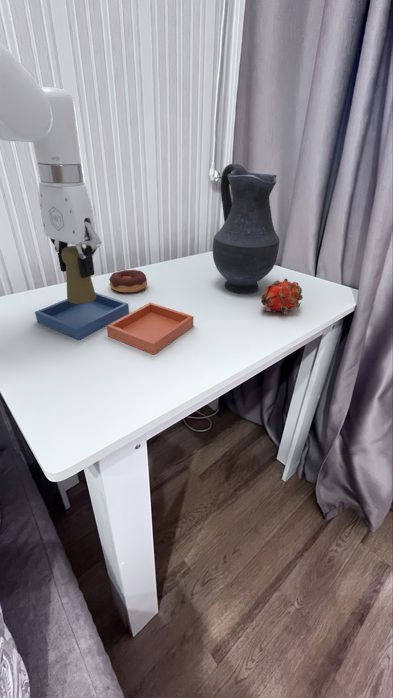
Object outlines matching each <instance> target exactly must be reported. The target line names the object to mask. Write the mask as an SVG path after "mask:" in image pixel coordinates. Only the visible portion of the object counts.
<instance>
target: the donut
mask: <svg viewBox="0 0 393 698" xmlns="http://www.w3.org/2000/svg"><path fill="white" fill-rule="evenodd" d="M147 286H148V279H147V276H146V274H145V273H144V271H141V270H136V269H122V270H121V271H120V270H119V271H116V272H113V273H112V274H111V275H110V276H109V287H110V289H112V290H113V291H115V292H120V293H136V292H140V291H142V290H144V289H145V288H146V287H147Z"/></svg>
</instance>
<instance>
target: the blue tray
mask: <svg viewBox="0 0 393 698" xmlns="http://www.w3.org/2000/svg"><path fill="white" fill-rule="evenodd" d="M95 294H96V299H95V300H94V301H91V302H89V303H84V304H75V303H71V302H69V301H68V300H67V298H66V299H63V300H61V301H58V302H55V303H54V304H51V305H48V306H46V307H43V308H41V309H39V310H36V311H34V314H35V319H36V322H37V323H38V324H41V325H43V326H45V327H47V328H50V329H52V330H54V331H56V332H59V333H62V334H64V335H66V336H68V337H70V338H73V339H75V340H77V341H81V340H82V339H84V338H86V337H87V336H90V335H92V334H94V333H95V332H97V331H99V330H100V329H102V328H104V327H107V325H109V324H111V323H113V322H115V321H116V320H118V319H120V318H122V317H124V316H126V315H128V314H130V306H129V303H128V302H125V301H122V300H119V299H116V298H113V297H110V296H107V295H105V294H101V293H98V292H96V291H95Z"/></svg>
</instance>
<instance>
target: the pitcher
mask: <svg viewBox="0 0 393 698" xmlns="http://www.w3.org/2000/svg"><path fill="white" fill-rule="evenodd" d="M276 184H277V174H267V173H256V172H248V171H247V170H246V169H245V167H244V166H243V165H241V164H240V163H239V164H238V163H235V164H234V163H230V164H227V165H226V166H225V167H224V168H223V170H222V172H221V177H220V197H221V198H220V199H221V205H222V215H223V224H222V226H221V228H220V229H219V230H218V231H217V232H216V233H215V235H214V236H213V241H212V258H213V262H214V266H215V268H216V270H217V271H218V272H219V274H220V275H221V276H222V277H223V278H224V279H225V280H226V281H225V282H224V285H223V286H224V289H225V290H226V291H228V292H231V293H234V294H240V295H247V294H254V293H255V292H257V291H259V288H260V287H259V282H260V281H261V280H262V279H264V278H265V277H266V276H268V275H269V274H270V273H271V271H272V270H273V268H274V267H275V265H276V262H277V259H278V255H279V250H280V249H279V248H280V237H279V235H278V234H277V232H276V230H275V227H274V224H273V218H272V210H271V203H270V202H271V201H270V196H271V193H272V191H273V190H274V187H275V186H276Z"/></svg>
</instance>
